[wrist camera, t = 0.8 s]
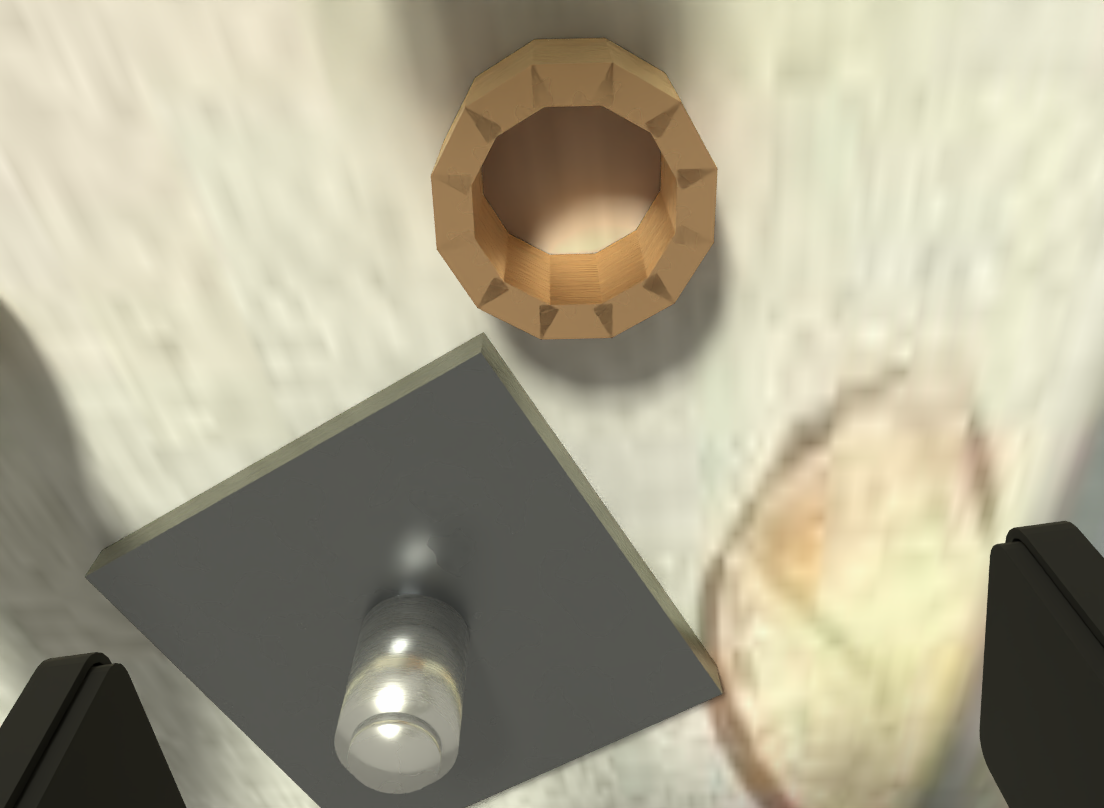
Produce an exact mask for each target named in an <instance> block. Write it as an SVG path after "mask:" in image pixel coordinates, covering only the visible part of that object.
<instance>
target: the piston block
mask: <svg viewBox="0 0 1104 808" xmlns="http://www.w3.org/2000/svg"><path fill="white" fill-rule="evenodd" d="M85 578H86V579H87V580H88V581H89V582H90V583H92V584H93V585H94V586H95V587H96V588H97V589H98V590H99V591H100V592H101V593H102V594H103V595H104V596H105V597H106V598H107V599H108V600H109V601H110V602H111V603H112V604H113V605H114V606H115V607H116V608H117V609H118V610H119V611H120V612H121V613H122V614H123V615H124V616H125V617H126V618H127V619H128V620H129V621H130V622H131V623H132V624H133V625H134V626H135V627H137V628H138V629H139V630H140V631H141V632H142V633H143V634H144V635H145V636H146V637H147V638H148V639H149V640H150V641H151V642H152V643H153V644H154V645H155V646H156V647H157V648H158V649H159V650H160V651H161V652H162V653H163V654H164V655H165V656H166V657H167V658H168V659H169V660H170V661H171V662H172V663H173V664H174V665H175V666H176V667H177V668H178V669H179V670H180V671H182V672H183V673H184V674H185V675H186V676H187V677H188V678H189V679H190V680H191V681H192V682H193V683H194V684H195V685H196V686H197V687H198V688H199V689H200V690H201V691H202V692H203V693H204V694H205V695H206V696H207V697H208V698H209V699H210V700H211V701H212V702H213V703H214V704H215V705H216V706H217V707H218V708H219V709H220V710H221V711H222V712H223V713H224V714H225V715H227V716H228V717H229V718H230V719H231V720H232V721H233V722H234V723H235V724H236V725H237V726H238V727H239V728H240V729H241V730H242V731H243V732H244V733H245V734H246V735H247V736H248V737H249V738H250V739H251V740H252V741H253V742H254V743H255V744H256V745H257V746H258V747H259V748H260V749H261V750H262V751H263V752H264V753H265V754H266V755H267V756H268V757H269V758H270V759H272V760H273V761H274V762H275V763H276V764H277V765H278V766H279V767H280V768H281V769H282V770H283V771H284V772H285V773H286V774H287V775H288V776H289V777H290V778H291V779H292V780H293V781H294V782H295V783H296V784H297V785H298V786H299V787H300V788H301V789H302V790H303V791H304V792H305V793H306V794H307V795H308V796H309V797H310V798H311V799H312V800H313V801H314V802H316V803H317V804H318V805H319V806H320V807H321V808H465V807H467V806H470V805H472V804H474V803H476V802H479V801H481V800H483V799H486V798H488V797H490V796H492V795H495V794H497V793H499V792H501V791H504V790H506V789H508V788H510V787H513V786H515V785H517V784H519V783H522V782H524V781H526V780H529V779H531V778H533V777H535V776H538V775H540V774H542V773H544V772H547V771H549V770H551V769H553V768H556V767H558V766H560V765H562V764H565V763H567V762H569V761H572V760H574V759H576V758H578V757H581V756H583V755H585V754H587V753H590V752H592V751H594V750H596V749H599V748H601V747H603V746H606V745H608V744H610V743H612V742H615V741H617V740H619V739H621V738H624V737H626V736H628V735H630V734H633V733H635V732H637V731H639V730H642V729H644V728H646V727H649V726H651V725H653V724H655V723H658V722H660V721H662V720H664V719H667V718H669V717H671V716H673V715H676V714H678V713H680V712H682V711H685V710H687V709H689V708H692V707H694V706H696V705H698V704H701V703H703V702H705V701H707V700H710V699H712V698H714V697H716V696H719V695H721V694H723V693H722V689H721V684H720V679H719V674H718V670H717V665H716V664H715V662H714V661H713V659H712V658H711V657H710V655H709V654H708V652H707V651H706V649H705V648H704V647H703V645H702V644H701V642H700V641H699V639H698V638H697V637H696V635H695V634H694V632H693V631H692V629H691V628H690V627H689V625H688V624H687V622H686V621H685V619H684V618H683V617H682V615H681V614H680V612H679V611H678V609H677V608H676V607H675V605H674V604H673V602H672V601H671V599H670V598H669V597H668V595H667V594H666V592H665V591H664V589H663V588H662V587H661V585H660V584H659V582H658V581H657V579H656V578H655V577H654V575H653V574H652V572H651V571H650V569H649V568H648V567H647V565H646V564H645V562H644V561H643V559H642V558H641V556H640V555H639V554H638V552H637V551H636V549H635V548H634V546H633V545H632V544H631V542H630V541H629V539H628V538H627V536H626V535H625V534H624V532H623V531H622V529H621V528H620V526H619V525H618V524H617V522H616V521H615V519H614V518H613V516H612V515H611V514H610V512H609V511H608V509H607V508H606V506H605V505H604V504H603V502H602V501H601V499H600V498H599V496H598V495H597V494H596V492H595V491H594V489H593V488H592V486H591V485H590V484H589V482H588V481H587V479H586V478H585V476H584V475H583V474H582V472H581V471H580V469H579V468H578V466H577V465H576V464H575V462H574V461H573V459H572V458H571V456H570V455H569V454H568V452H567V451H566V449H565V448H564V446H563V445H562V444H561V442H560V441H559V439H558V438H557V436H556V435H555V434H554V432H553V431H552V429H551V428H550V426H549V425H548V424H547V422H546V421H545V419H544V418H543V416H542V415H541V414H540V412H539V411H538V409H537V408H536V406H535V405H534V404H533V402H532V401H531V399H530V398H529V396H528V395H527V394H526V392H525V391H524V389H523V388H522V386H521V385H520V384H519V382H518V381H517V379H516V378H515V376H514V375H513V374H512V372H511V371H510V369H509V368H508V366H507V365H506V364H505V362H504V361H503V359H502V358H501V356H500V355H499V354H498V352H497V351H496V349H495V348H494V346H493V345H492V344H491V342H490V341H489V339H488V338H487V336H486V335H485V333H484V332H483V333H481V334H480V335H478V336H476V337H475V338H473V339H471V340H469V341H468V342H466V343H464V344H462V345H461V346H459V347H457V348H455V349H454V350H452V351H450V352H448V353H447V354H445V355H443V356H441V357H440V358H438V359H436V360H434V361H433V362H431V363H429V364H427V365H426V366H424V367H422V368H420V369H419V370H417V371H415V372H413V373H412V374H410V375H408V376H406V377H405V378H403V379H401V380H399V381H398V382H396V383H394V384H392V385H391V386H389V387H387V388H385V389H384V390H382V391H380V392H378V393H377V394H375V395H373V396H371V397H370V398H368V399H366V400H364V401H363V402H361V403H359V404H357V405H356V406H354V407H352V408H350V409H349V410H347V411H345V412H343V413H342V414H340V415H338V416H336V417H335V418H333V419H331V420H329V421H328V422H326V423H324V424H322V425H321V426H319V427H317V428H315V429H314V430H312V431H310V432H308V433H307V434H305V435H303V436H301V437H300V438H298V439H296V440H294V441H293V442H291V443H289V444H287V445H286V446H284V447H282V448H280V449H279V450H277V451H275V452H273V453H272V454H270V455H268V456H266V457H265V458H263V459H261V460H259V461H258V462H256V463H254V464H252V465H251V466H249V467H247V468H245V469H244V470H242V471H240V472H238V473H237V474H235V475H233V476H232V477H230V478H228V479H226V480H225V481H223V482H221V483H219V484H218V485H216V486H214V487H212V488H211V489H209V490H207V491H205V492H204V493H202V494H200V495H198V496H197V497H195V498H193V499H191V500H190V501H188V502H186V503H184V504H183V505H181V506H179V507H177V508H176V509H174V510H172V511H170V512H169V513H167V514H165V515H163V516H162V517H160V518H158V519H156V520H155V521H153V522H151V523H149V524H148V525H146V526H144V527H142V528H141V529H139V530H137V531H135V532H134V533H132V534H130V535H128V536H127V537H125V538H123V539H121V540H120V541H118V542H116V543H114V544H113V545H111V546H109V547H107V548H106V549H104V550H102V551H101V553H100V554H99V556H98V557H97V559H96V560H95V562H94V564H93V565H92V567H91V568H90V570H89V571H88V573H87V574H86V576H85Z"/></svg>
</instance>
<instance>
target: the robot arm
mask: <svg viewBox="0 0 1104 808" xmlns="http://www.w3.org/2000/svg"><path fill="white" fill-rule="evenodd" d="M980 742H981V747H982V752H983V755H984V758H985V761H986V764H987V766H988V768H989V770H990V772H991V774H992V776H993V778H994V780H995V782H996V783H997V785H998V787H999V789H1000V791H1001V793H1002V795H1003V797H1004V798H1005V800H1006V802H1007V804H1008V806H1009V808H1104V558H1103V557H1102V555H1101V554H1100V553H1099V552H1098V551H1097V550H1096V549H1095V547H1094V546H1093V545H1092V544H1091V543H1090V542H1089V541H1088V539H1087V538H1086V537H1085V536H1084V535H1083V534H1082V533H1081V531H1080V530H1079V529H1078V528H1077V527H1076V526H1075V525H1073V524H1072V523H1071V522H1067V521H1061V522H1053V523H1046V524H1039V525H1031V526H1024V527H1017V528H1013V529H1011V530H1009V532H1008V534H1007V536H1006V542H1005V543H1002V544H996V545H994V546H993V548H992V550H991V554H990V566H989V583H988V599H987V616H986V633H985V649H984V666H983V682H982V699H981V716H980ZM0 808H186V806H185V804H184V801H183V799H182V797H181V794H180V792H179V790H178V787H177V785H176V783H175V780H174V778H173V776H172V773H171V771H170V769H169V766H168V764H167V762H166V759H165V757H164V755H163V753H162V750H161V748H160V746H159V743H158V741H157V739H156V736H155V734H154V732H153V729H152V727H151V725H150V722H149V720H148V718H147V715H146V713H145V711H144V709H143V706H142V704H141V702H140V699H139V697H138V695H137V692H136V690H135V688H134V685H133V683H132V681H131V678H130V676H129V674H128V672H127V670H126V668H125V667H124V666H123V665H122V664H118V663H114V664H112V663H111V662H110V660H109V658H108V657H107V656H105V655H104V654H103V653H98V652H95V653H87V654H80V655H73V656H65V657H58V658H50V659H47V660H45V661H43V662H42V663H41V664H40V665H39V666H38V668H37V669H36V670H35V672H34V674H33V675H32V677H31V678H30V680H29V682H28V683H27V685H26V687H25V688H24V690H23V691H22V693H21V695H20V696H19V698H18V700H17V701H16V703H15V704H14V706H13V708H12V709H11V711H10V713H9V714H8V716H7V717H6V719H5V721H4V722H3V724H2V726H1V727H0Z"/></svg>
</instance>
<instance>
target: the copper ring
mask: <svg viewBox="0 0 1104 808" xmlns="http://www.w3.org/2000/svg"><path fill="white" fill-rule="evenodd" d="M563 106H603V107H605V108H607V109H609V110H611V111H612V112H614V113H616V114H618V115H619V116H621V117H623V118H625V119H627V120H628V121H630V122H632V123H634V124H635V125H637V126H639V127H641V128H643V129H644V130H646V131H648V132H650V133H651V135H652V136H653V138H654V140H655V142H656V144H657V145H658V147H659V149H660V151H661V185H660V192H659V193H658V195H657V197H656V198H655V200H654V202H653V203H652V205H651V207H650V208H649V210H648V211H647V213H646V215H645V216H644V218H643V220H642V221H641V223H640V225H639V226H638V228H637V230H636V231H634V232H632V233H631V234H629V235H627V236H625V237H624V238H622V239H620V240H619V241H617V242H615V243H613V244H612V245H610V246H608V247H606V248H605V249H603V250H601V251H599V252H598V253H596V254H560V255H549V254H547V253H545V252H543V251H541V250H539V249H538V248H536V247H534V246H532V245H530V244H528V243H526V242H524V241H522V240H520V239H518V238H516V237H514V236H512V235H511V234H509V233H508V232H507V230H506V229H505V227H504V226H503V224H502V223H501V221H500V219H499V218H498V216H497V215H496V213H495V212H494V210H493V209H492V207H491V206H490V204H489V203H488V201H487V200H486V198H485V197H484V195H483V182H482V164H483V162H484V160H485V158H486V156H487V154H488V152H489V151H490V149H491V147H492V145H493V143H494V141H495V139H496V137H497V136H499V135H500V134H502V133H504V132H505V131H507V130H508V129H510V128H512V127H513V126H515V125H516V124H518V123H520V122H521V121H523V120H524V119H526V118H528V117H529V116H531V115H533V114H534V113H536V112H537V111H539V110H541V109H542V108H544V107H563ZM717 170H718V169H717V167H716V165H715V163H714V161H713V160H712V158H711V156H710V154H709V152H708V151H707V149H706V147H705V145H704V143H703V141H702V140H701V138H700V136H699V134H698V132H697V130H696V128H695V127H694V125H693V123H692V121H691V119H690V117H689V115H688V114H687V112H686V110H685V108H684V106H683V104H682V102H681V100H680V98H679V96H678V95H677V93H676V91H675V89H674V88H673V86H672V84H671V82H670V81H669V79H668V77H667V75H666V73H665V72H663V71H661V70H659V69H658V68H656V67H654V66H653V65H651V64H649V63H647V62H646V61H644V60H642V59H640V58H639V57H637V56H635V55H634V54H632V53H630V52H628V51H627V50H625V49H623V48H622V47H620V46H618V45H616V44H615V43H613V42H611V41H609V40H608V39H606V38H572V39H534V40H533V41H531V42H529V43H528V44H526V45H525V46H523V47H522V48H520V49H519V50H517V51H516V52H514V53H512V54H511V55H509V56H508V57H506V58H505V59H503V60H502V61H500V62H498V63H497V64H495V65H494V66H492V67H491V68H489V69H488V70H486V71H484V72H483V73H481V74H480V75H478V76H477V77H475V79H474V81H473V83H472V85H471V87H470V89H469V91H468V93H467V95H466V97H465V99H464V101H463V103H462V105H461V107H460V109H459V111H458V113H457V115H456V117H455V119H454V122H453V124H452V126H451V128H450V130H449V132H448V134H447V136H446V138H445V139H444V142H443V145H442V147H441V150H440V153H439V155H438V158H437V161H436V163H435V166H434V169H433V171H432V174H431V182H432V195H433V207H434V220H435V232H436V245H437V250H438V252H439V253H440V255H441V256H442V257H443V259H444V260H445V262H446V263H447V265H448V266H449V268H450V269H451V270H452V272H453V273H454V275H455V276H456V278H457V279H458V281H459V282H460V283H461V285H462V286H463V288H464V289H465V291H466V292H467V293H468V295H469V296H470V298H471V299H472V301H473V302H474V304H475V305H476V306H477V308H479V309H481V310H483V311H485V312H487V313H489V314H491V315H493V316H495V317H497V318H499V319H501V320H503V321H505V322H507V323H509V324H511V325H513V326H515V327H517V328H519V329H521V330H523V331H525V332H527V333H529V334H531V335H533V336H535V337H537V338H539V339H541V340H542V339H582V338H612V337H614V336H616V335H618V334H620V333H621V332H623V331H625V330H627V329H629V328H631V327H632V326H634V325H636V324H638V323H640V322H641V321H643V320H645V319H647V318H649V317H651V316H652V315H654V314H656V313H658V312H660V311H661V310H663V309H665V308H667V307H669V306H671V305H672V304H674V303H675V302H676V300H677V299H678V297H679V296H680V294H681V292H682V291H683V289H684V288H685V286H686V285H687V283H688V282H689V280H690V278H691V277H692V275H693V274H694V272H695V271H696V269H697V268H698V266H699V265H700V263H701V261H702V260H703V258H704V257H705V255H706V254H707V252H708V251H709V249H710V247H711V246H712V244H713V243H714V226H715V206H716V187H717Z"/></svg>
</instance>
